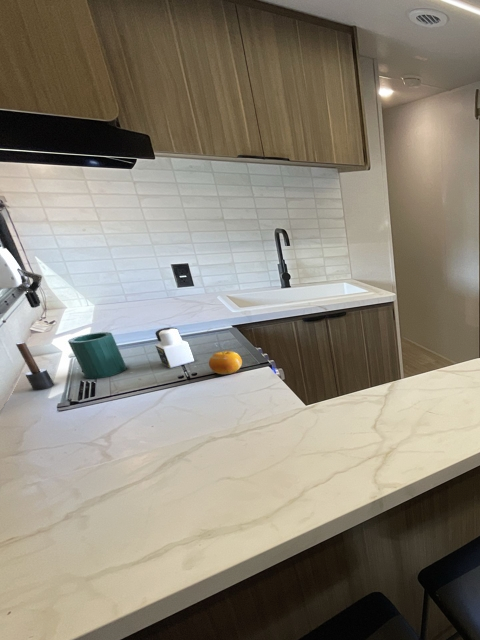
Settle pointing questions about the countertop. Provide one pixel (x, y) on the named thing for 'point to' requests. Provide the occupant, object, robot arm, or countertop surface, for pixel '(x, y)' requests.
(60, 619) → the countertop surface
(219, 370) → the fruit
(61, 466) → the countertop surface
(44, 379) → the brush
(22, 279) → the robot arm
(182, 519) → the countertop surface
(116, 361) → the jar
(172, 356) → the medicine bottle
